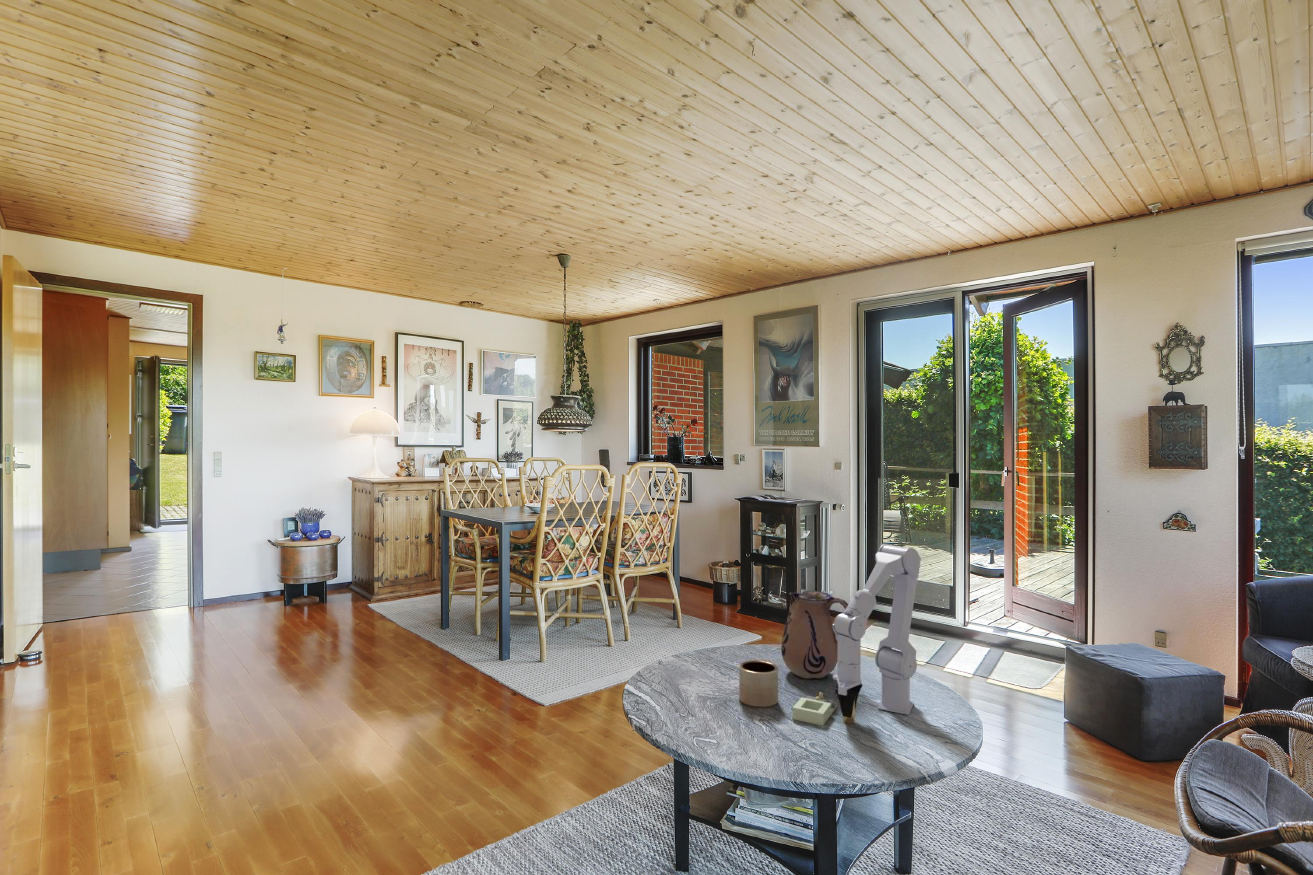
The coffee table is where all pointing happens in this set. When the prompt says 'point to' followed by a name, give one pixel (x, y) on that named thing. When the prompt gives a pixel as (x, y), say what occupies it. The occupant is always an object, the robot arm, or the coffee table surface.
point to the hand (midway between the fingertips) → (848, 713)
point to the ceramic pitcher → (810, 635)
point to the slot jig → (814, 709)
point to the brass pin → (850, 720)
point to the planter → (758, 683)
